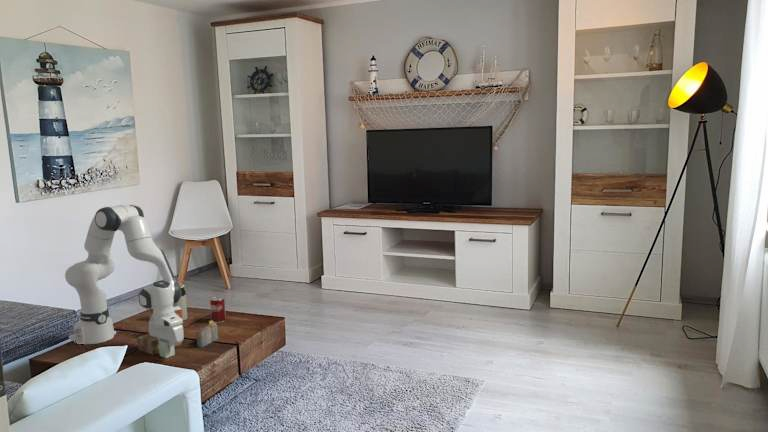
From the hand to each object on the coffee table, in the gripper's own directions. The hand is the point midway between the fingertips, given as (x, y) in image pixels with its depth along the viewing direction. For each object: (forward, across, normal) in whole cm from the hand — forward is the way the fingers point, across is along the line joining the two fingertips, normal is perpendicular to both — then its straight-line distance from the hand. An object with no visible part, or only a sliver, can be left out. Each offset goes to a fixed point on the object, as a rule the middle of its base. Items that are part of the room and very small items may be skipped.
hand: (166, 348), depth 258 cm
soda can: (+3, -17, +43) cm, 46 cm away
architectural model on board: (+4, +3, +20) cm, 20 cm away
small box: (+3, -20, +18) cm, 27 cm away
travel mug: (+3, -37, +34) cm, 50 cm away
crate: (+3, -12, +4) cm, 13 cm away
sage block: (+3, 0, 0) cm, 3 cm away
